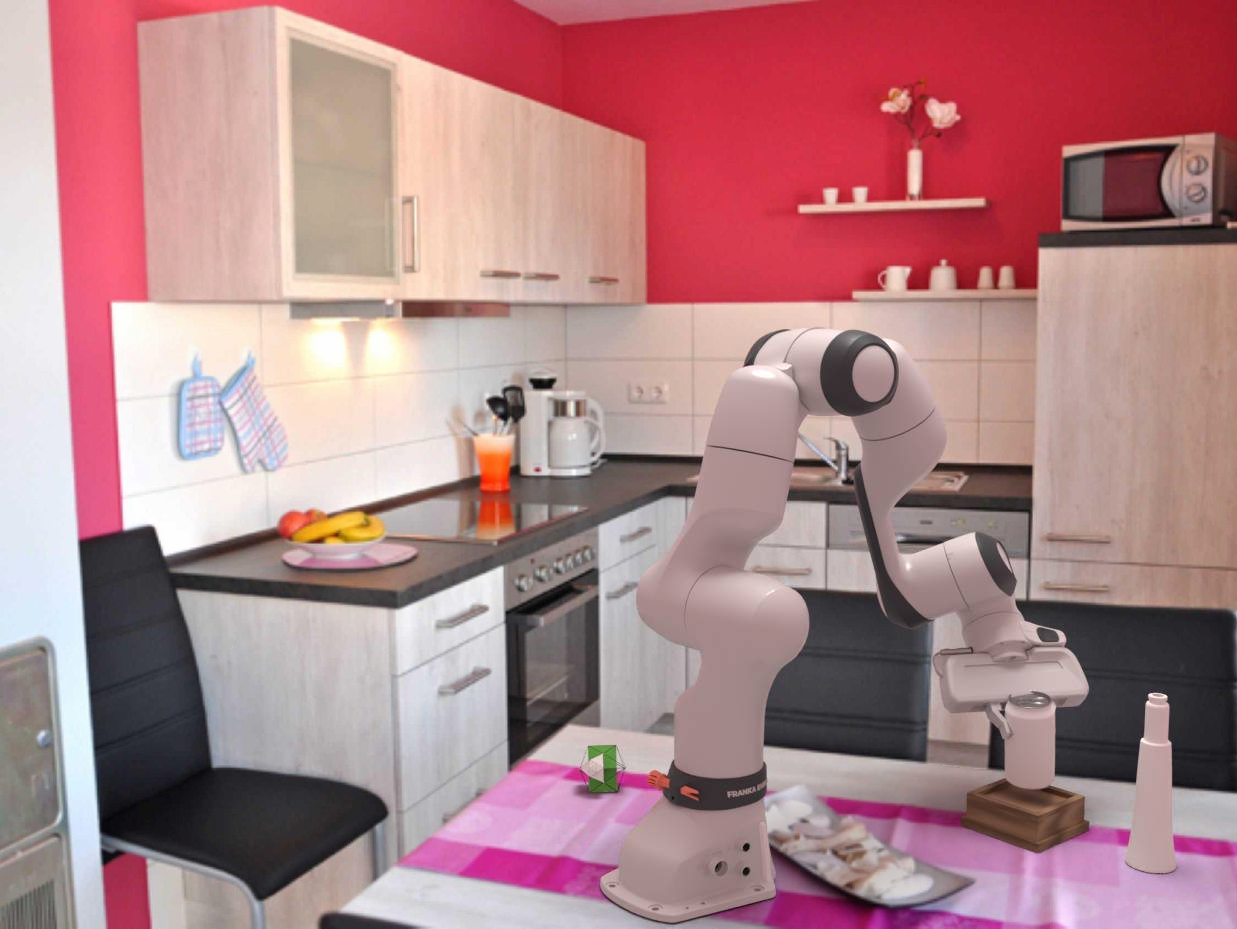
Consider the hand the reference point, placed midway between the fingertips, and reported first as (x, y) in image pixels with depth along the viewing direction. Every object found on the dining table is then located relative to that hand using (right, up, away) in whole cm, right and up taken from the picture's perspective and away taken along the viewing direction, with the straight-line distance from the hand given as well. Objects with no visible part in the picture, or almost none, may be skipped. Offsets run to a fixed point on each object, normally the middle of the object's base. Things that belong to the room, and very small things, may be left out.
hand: (1029, 735), depth 176 cm
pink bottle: (+12, -14, -10) cm, 21 cm away
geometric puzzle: (-58, -12, +17) cm, 61 cm away
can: (+1, -7, +3) cm, 7 cm away
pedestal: (0, -13, +2) cm, 13 cm away
